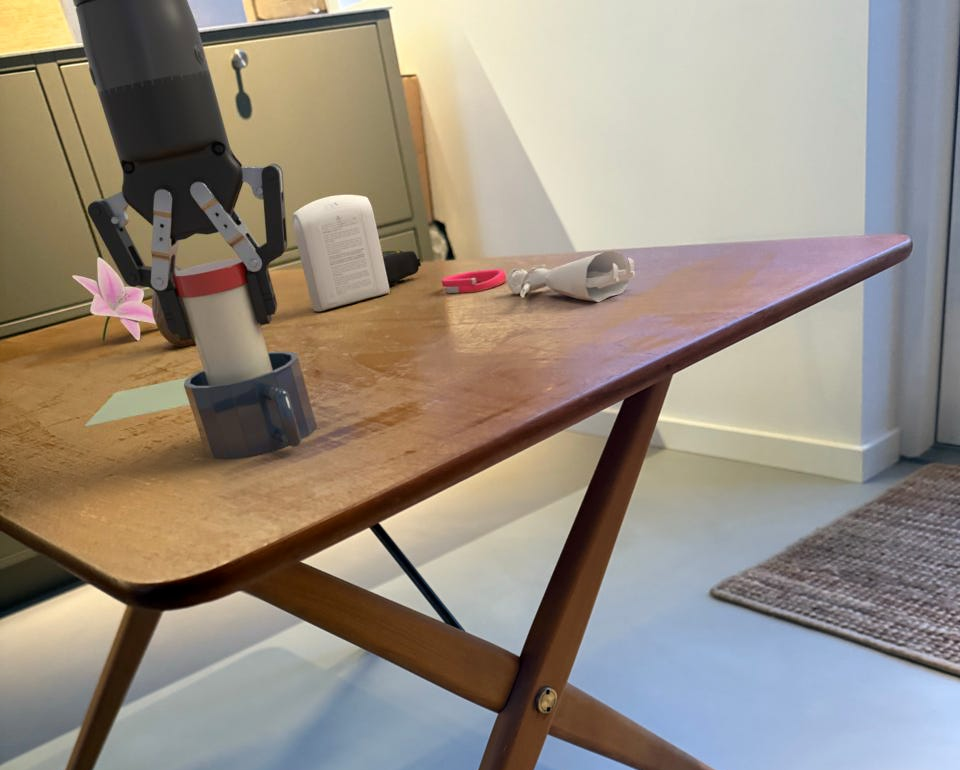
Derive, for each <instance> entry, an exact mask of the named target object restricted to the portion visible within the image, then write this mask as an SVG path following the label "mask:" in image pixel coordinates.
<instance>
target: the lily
mask: <svg viewBox="0 0 960 770" xmlns="http://www.w3.org/2000/svg"><path fill="white" fill-rule="evenodd" d="M96 263H97V264H96V265H97V267H96V268H97V280H94V279H92V278H89V277H86V276H82V275H76V274H74V275H72V276H71V277H72V278H73V279H74V280H75V281H77V282H78V283H79V284H80V285H81V286H83V287H84V289H86V290H87V291H89V292H90V294H92V295H93V299H92V302H91V305H90V310H89V311H90V314H92V315H94V316H101V317H106V318H105V319H106V320H105V323H104V328H103V332H102V337H101V338H102V339H101V342H105V341H106V340H105V339H106V333H107V328H108V324H109V321H110V319H111V317H114V318H117V319H118V320H119V321H120V322H121V323H122V325H123V326H124V327H125V328H126V329H127V331H129V333H130V334H131V335H132V336H133V337H134V339H135V340H137V341H140V339H141V327H140V323H139V322H144V323H149V324H154V325H156V323H155V320H154V317H153V312H152V307H151V306H149V305H148V304H146V303H143V299H144V296H145V291H144V289H142V288H141V287H137V286H135V287H132V286H129V285H127V286H125V284H124V282H123V280H122V278H121V277H120V276H119V274H118V273H117V272H116V271H115V269H114V268H113V267H112V266H111V265H110V264H109V263H108V262H107V261H105V259H103V258H102V257H97V260H96Z"/></svg>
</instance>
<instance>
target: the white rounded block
mask: <svg viewBox="0 0 960 770" xmlns="http://www.w3.org/2000/svg"><path fill="white" fill-rule="evenodd" d="M292 226H293V233H294V237H295V241H296V246H297V249H298V254H299V258H300V263H301V266H302V270H303V275H304V279H305V282H306V286H307V290H308V294H309V295H308V296H309V298H310V303H311V306H312V310H313V311H315V312H324V311H327V310H331V309H335V308H339V307H342V306H345V305H346V306H347V305H349V304H353V303H358V302H361V301H365V300H368V299H372V298H376V297H379V296H384V295H388V294H390V292H391V291H390V284H388V280H387V275H386V270H385V265H384V261H383V256H382V252H383V251H382V247H381V242H380V238H379V232H378V227H377V223H376V219H375V214H374V210H373V206H372V204H371V202H370V200H369V198H368V197H367V196H363V195H360V194H359V195H357V194H337V195H330V196H325V197H322V198H319V199H315V200H313V201H311V202H308V203H307V204H305V205H303V206H302V207H301V208H298V210H296V211H295V212H293V213H292Z"/></svg>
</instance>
